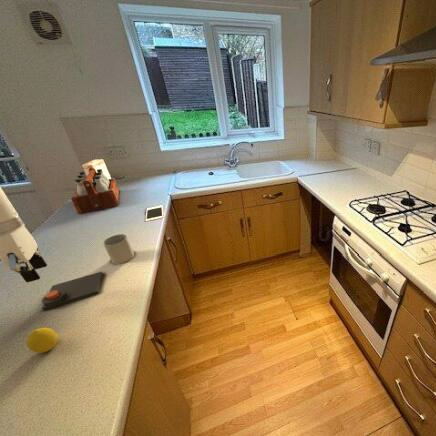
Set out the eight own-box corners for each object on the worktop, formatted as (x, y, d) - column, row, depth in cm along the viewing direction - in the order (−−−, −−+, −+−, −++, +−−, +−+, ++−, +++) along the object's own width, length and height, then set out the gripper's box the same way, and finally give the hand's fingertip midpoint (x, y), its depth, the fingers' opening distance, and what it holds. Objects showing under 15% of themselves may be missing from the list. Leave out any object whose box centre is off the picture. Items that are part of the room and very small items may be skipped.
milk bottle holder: (120, 190, 178) (109, 164, 169) (119, 207, 152) (107, 177, 142) (84, 196, 168) (72, 170, 159) (77, 215, 142) (61, 185, 133)
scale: (44, 313, 79) (38, 305, 77) (55, 289, 89) (50, 282, 87) (99, 295, 85) (95, 288, 83) (103, 275, 95) (99, 268, 93)
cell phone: (162, 206, 150) (162, 205, 149) (163, 218, 135) (163, 217, 135) (147, 209, 146) (146, 208, 146) (146, 222, 132) (145, 220, 132)
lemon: (33, 362, 64) (15, 343, 61) (42, 344, 69) (26, 326, 65) (58, 353, 66) (43, 335, 62) (65, 337, 71) (52, 319, 67)
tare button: (46, 301, 79) (44, 298, 78) (49, 295, 82) (47, 292, 81) (58, 298, 80) (56, 294, 80) (60, 292, 83) (58, 289, 82)
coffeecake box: (104, 183, 193) (93, 159, 183) (113, 183, 193) (103, 159, 184) (92, 190, 179) (81, 164, 170) (102, 189, 180) (91, 164, 171)
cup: (107, 262, 102) (98, 243, 97) (125, 251, 108) (117, 233, 104) (121, 266, 99) (112, 247, 94) (139, 255, 106) (131, 236, 101)
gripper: (-1, 216, 73) (31, 262, 81) (-34, 243, 59) (10, 296, 68) (31, 210, 76) (59, 255, 84) (8, 235, 62) (44, 286, 71)
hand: (37, 273), depth 76 cm, fingers open, 6 cm apart
